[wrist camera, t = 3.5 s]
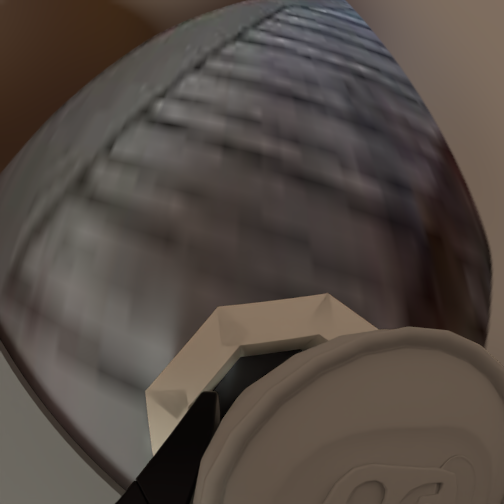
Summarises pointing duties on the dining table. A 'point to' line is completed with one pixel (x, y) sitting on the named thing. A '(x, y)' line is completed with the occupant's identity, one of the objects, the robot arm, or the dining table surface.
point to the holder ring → (242, 349)
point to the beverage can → (365, 426)
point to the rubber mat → (42, 451)
